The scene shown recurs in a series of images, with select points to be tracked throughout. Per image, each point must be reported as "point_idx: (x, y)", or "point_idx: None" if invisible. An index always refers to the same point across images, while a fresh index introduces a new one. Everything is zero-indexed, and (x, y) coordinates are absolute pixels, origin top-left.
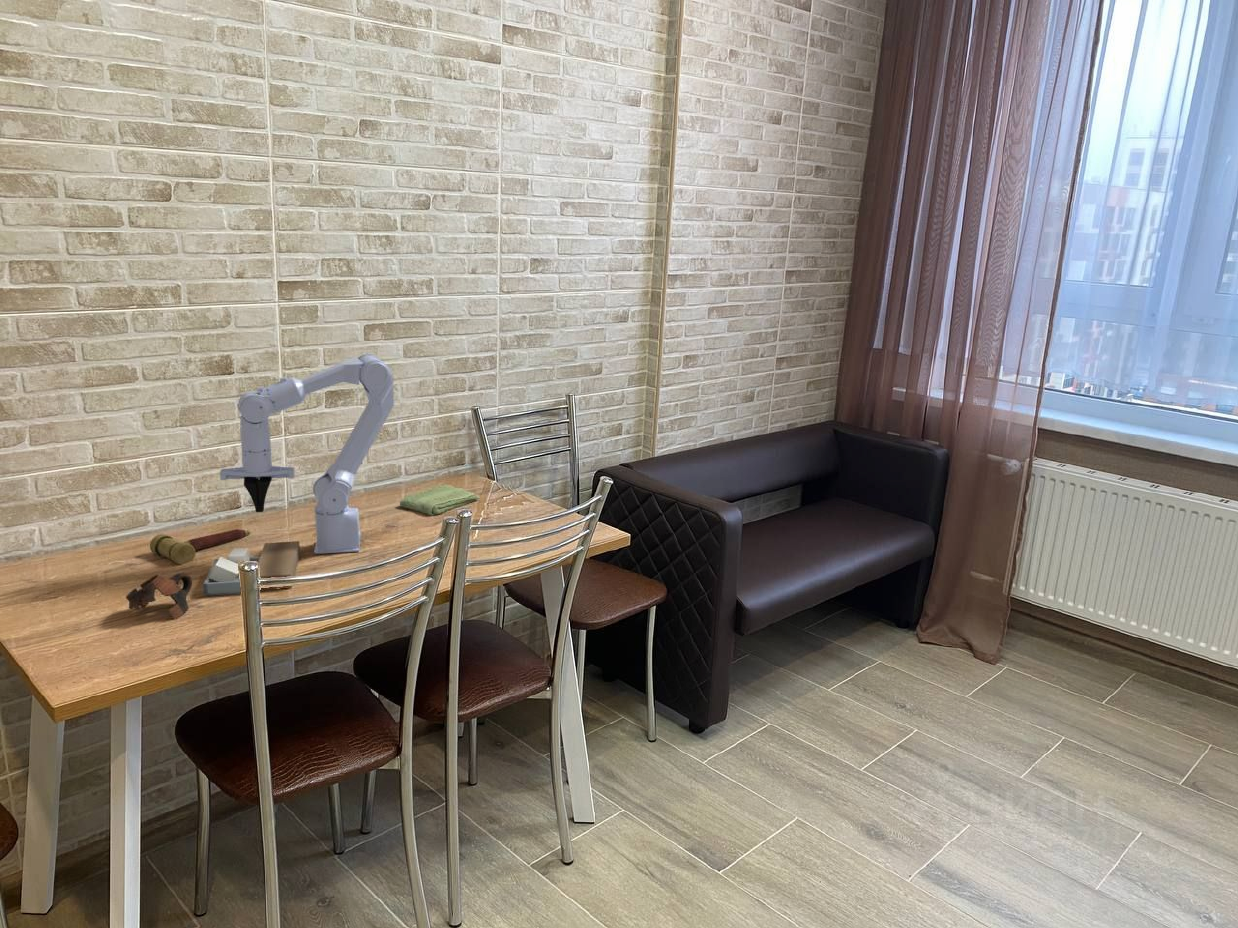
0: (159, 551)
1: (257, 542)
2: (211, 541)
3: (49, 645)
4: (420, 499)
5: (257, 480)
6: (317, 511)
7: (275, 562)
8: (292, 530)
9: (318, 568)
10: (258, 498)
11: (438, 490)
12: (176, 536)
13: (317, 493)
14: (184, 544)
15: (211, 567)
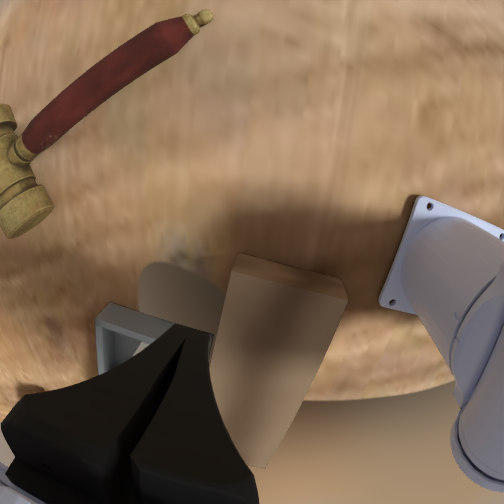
0: None
1: (226, 104)
2: (80, 116)
3: (4, 414)
4: None
5: (117, 494)
6: (452, 366)
7: (243, 418)
8: (362, 33)
9: (350, 386)
10: (162, 398)
11: None
12: (36, 10)
13: (498, 411)
14: (11, 230)
15: (97, 362)
